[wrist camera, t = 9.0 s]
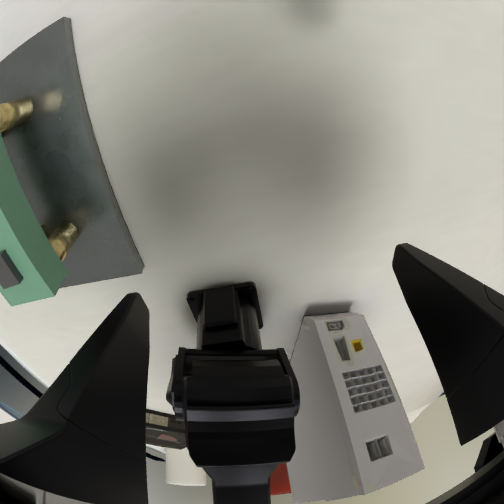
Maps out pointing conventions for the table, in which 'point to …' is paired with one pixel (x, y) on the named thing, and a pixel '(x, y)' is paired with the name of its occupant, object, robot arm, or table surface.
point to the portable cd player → (164, 430)
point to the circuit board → (23, 244)
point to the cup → (183, 469)
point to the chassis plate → (62, 159)
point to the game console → (346, 414)
